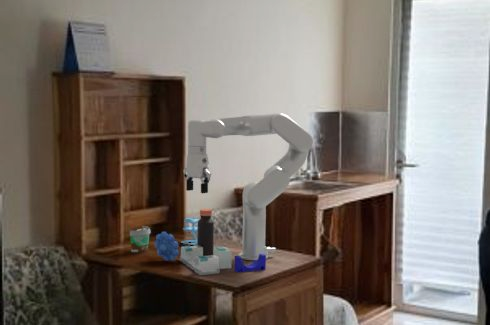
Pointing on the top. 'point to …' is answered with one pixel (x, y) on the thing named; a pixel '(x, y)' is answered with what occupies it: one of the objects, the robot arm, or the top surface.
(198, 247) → the rail
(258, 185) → the robot arm
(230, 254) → the block
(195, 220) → the chair
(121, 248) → the top surface
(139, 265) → the top surface
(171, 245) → the grapes
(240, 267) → the blue mounting bracket
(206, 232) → the bottle
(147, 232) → the food container
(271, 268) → the top surface
